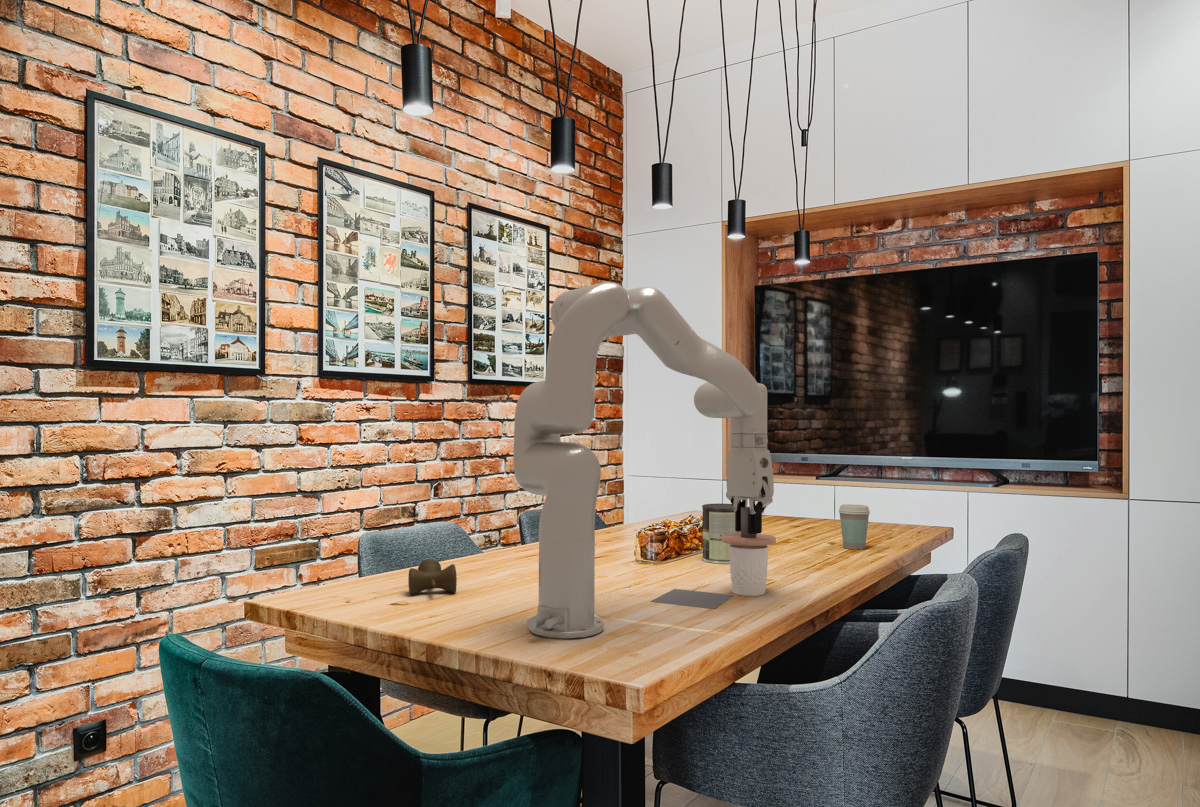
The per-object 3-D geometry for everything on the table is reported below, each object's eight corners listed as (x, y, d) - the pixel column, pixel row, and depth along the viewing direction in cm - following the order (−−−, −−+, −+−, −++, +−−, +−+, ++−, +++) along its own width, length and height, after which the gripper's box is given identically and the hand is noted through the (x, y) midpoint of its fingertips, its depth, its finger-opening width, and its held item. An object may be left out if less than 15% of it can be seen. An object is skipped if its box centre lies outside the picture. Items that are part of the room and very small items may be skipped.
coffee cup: (876, 549, 219) (876, 506, 219) (855, 551, 215) (855, 507, 215) (853, 545, 226) (852, 503, 227) (832, 547, 222) (831, 505, 222)
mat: (714, 612, 145) (714, 608, 145) (650, 604, 150) (650, 601, 150) (735, 598, 156) (735, 595, 156) (674, 591, 162) (674, 588, 162)
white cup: (765, 591, 163) (765, 543, 163) (770, 599, 155) (770, 549, 156) (727, 590, 164) (728, 542, 164) (730, 598, 156) (730, 548, 156)
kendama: (451, 581, 174) (459, 599, 155) (407, 585, 172) (409, 603, 152) (451, 554, 174) (458, 568, 155) (406, 557, 172) (408, 572, 153)
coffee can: (693, 560, 200) (693, 505, 200) (720, 555, 207) (720, 502, 207) (724, 565, 192) (724, 508, 193) (751, 561, 199) (751, 505, 199)
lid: (768, 547, 152) (768, 511, 153) (714, 543, 157) (714, 508, 158) (781, 540, 162) (781, 506, 163) (730, 536, 167) (730, 503, 167)
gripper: (790, 443, 155) (790, 536, 155) (737, 441, 169) (736, 526, 169) (761, 443, 151) (761, 538, 151) (709, 442, 166) (709, 528, 165)
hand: (748, 531), depth 160 cm, fingers closed on lid, 3 cm apart
